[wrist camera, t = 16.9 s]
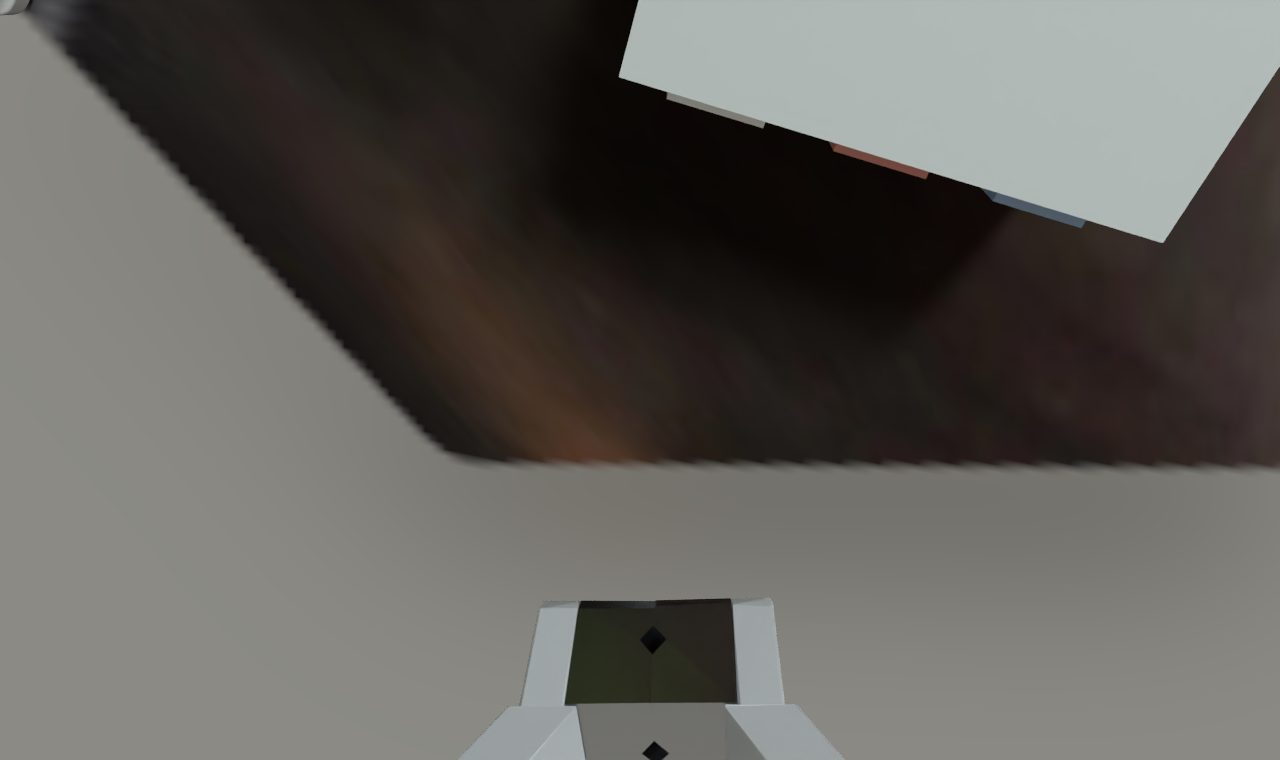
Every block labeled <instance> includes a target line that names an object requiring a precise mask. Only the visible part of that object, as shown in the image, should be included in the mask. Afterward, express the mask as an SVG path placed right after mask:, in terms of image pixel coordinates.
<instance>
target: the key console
mask: <svg viewBox="0 0 1280 760" xmlns="http://www.w3.org/2000/svg"><path fill="white" fill-rule="evenodd" d="M1279 66H1280V0H639V1H638V5H637V9H636V12H635V16H634V20H633V24H632V28H631V32H630V35H629V39H628V43H627V47H626V51H625V54H624V58H623V62H622V66H621V70H620V74H619V77H620V78H623V79H626V80H630V81H633V82H636V83H640V84H643V85H646V86H649V87H653V88H656V89H659V90H662V91H666V92H669V93H672V94H676V95H679V96H682V97H685V98H689V99H692V100H695V101H699V102H702V103H705V104H708V105H712V106H715V107H718V108H721V109H725V110H728V111H731V112H735V113H738V114H741V115H744V116H748V117H751V118H754V119H758V120H761V121H764V122H767V123H771V124H774V125H777V126H781V127H784V128H787V129H790V130H794V131H797V132H800V133H803V134H807V135H810V136H813V137H817V138H820V139H823V140H826V141H830V142H833V143H836V144H840V145H843V146H846V147H849V148H853V149H856V150H859V151H862V152H866V153H869V154H872V155H876V156H879V157H882V158H885V159H889V160H892V161H895V162H899V163H902V164H905V165H908V166H912V167H915V168H918V169H921V170H925V171H928V172H931V173H935V174H938V175H941V176H944V177H948V178H951V179H954V180H958V181H961V182H964V183H967V184H971V185H974V186H977V187H981V188H984V189H987V190H990V191H994V192H997V193H1000V194H1003V195H1007V196H1010V197H1013V198H1017V199H1020V200H1023V201H1026V202H1030V203H1033V204H1036V205H1040V206H1043V207H1046V208H1049V209H1053V210H1056V211H1059V212H1062V213H1066V214H1069V215H1072V216H1076V217H1079V218H1082V219H1085V220H1089V221H1092V222H1095V223H1099V224H1102V225H1105V226H1108V227H1112V228H1115V229H1118V230H1121V231H1125V232H1128V233H1131V234H1135V235H1138V236H1141V237H1144V238H1148V239H1151V240H1154V241H1158V242H1161V243H1163V242H1164V240H1165V239H1166V237H1167V236H1168V234H1169V233H1170V231H1171V230H1172V228H1173V227H1174V225H1175V224H1176V222H1177V221H1178V219H1179V218H1180V216H1181V215H1182V213H1183V212H1184V210H1185V209H1186V207H1187V206H1188V204H1189V203H1190V201H1191V200H1192V198H1193V197H1194V195H1195V193H1196V192H1197V190H1198V189H1199V187H1200V186H1201V184H1202V183H1203V181H1204V180H1205V178H1206V177H1207V175H1208V174H1209V172H1210V171H1211V169H1212V168H1213V166H1214V165H1215V163H1216V162H1217V160H1218V159H1219V157H1220V156H1221V154H1222V153H1223V151H1224V150H1225V148H1226V147H1227V145H1228V143H1229V142H1230V140H1231V139H1232V137H1233V136H1234V134H1235V133H1236V131H1237V130H1238V128H1239V127H1240V125H1241V124H1242V122H1243V121H1244V119H1245V118H1246V116H1247V115H1248V113H1249V112H1250V110H1251V109H1252V107H1253V106H1254V104H1255V103H1256V101H1257V100H1258V98H1259V97H1260V95H1261V93H1262V92H1263V90H1264V89H1265V87H1266V86H1267V84H1268V83H1269V81H1270V80H1271V78H1272V77H1273V75H1274V74H1275V72H1276V71H1277V69H1278V68H1279Z"/></svg>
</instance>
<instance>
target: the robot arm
mask: <svg viewBox="0 0 1280 760" xmlns="http://www.w3.org/2000/svg"><path fill="white" fill-rule="evenodd" d="M28 3H29V0H0V15H13V14H18V13H20V12H22V11H23V10H24V9H25V8H26V7H27V5H28ZM457 760H845V759H844V758H843V757H842V756H841V755H840V753H838V751H837V750H836V749H835V748H834V746H833V745H832V744H831V743H830V742H829V741H828V740H827V738H826V737H825V736H824V735H823V734H822V733H821V732H820V730H819V729H818V728H817V727H816V726H815V725H814V724H813V722H812V721H811V720H810V719H809V718H808V717H807V716H806V715H805V713H804V712H803V711H802V710H801V709H800V708H799V706H798V705H797V704H785V703H784V694H783V686H782V677H781V668H780V660H779V651H778V643H777V635H776V625H775V617H774V608H773V603H772V601H771V599H770V598H734V599H732V601H731V599H694V600H659V601H658V600H657V601H581V602H580V601H577V602H576V601H543V603H542V605H541V607H540V608H539V610H538V614H537V619H536V624H535V629H534V634H533V639H532V644H531V649H530V654H529V659H528V664H527V670H526V674H525V679H524V684H523V689H522V694H521V700H520V704H519V706H508V707H507V708H506V709H505V710H504V711H503V712H502V713H501V714H500V715H499V716H498V717H497V718H496V719H495V721H494V722H493V723H492V724H491V725H490V726H489V727H488V728H487V729H486V730H485V731H484V732H483V733H482V734H481V735H480V736H479V737H478V738H477V739H476V740H475V742H474V743H473V744H472V745H471V746H470V747H469V748H468V749H467V750H466V751H465V752H464V753H463V754H462V755H461V756H460V758H459V759H457Z"/></svg>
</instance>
